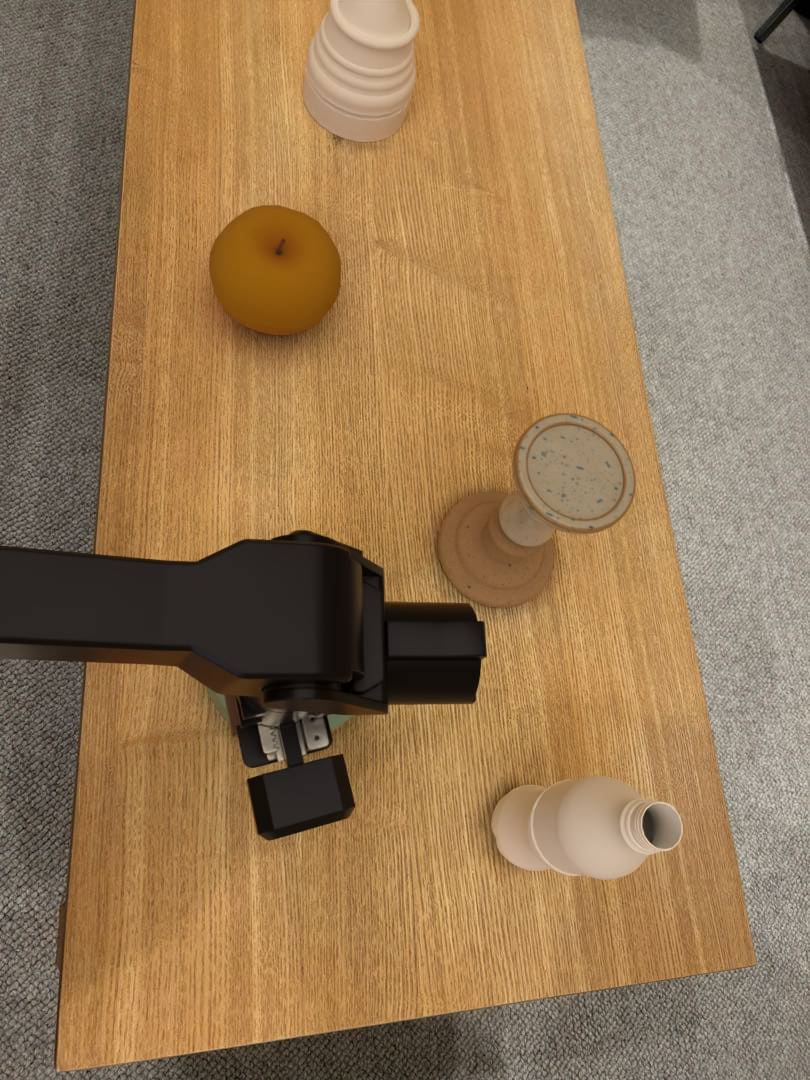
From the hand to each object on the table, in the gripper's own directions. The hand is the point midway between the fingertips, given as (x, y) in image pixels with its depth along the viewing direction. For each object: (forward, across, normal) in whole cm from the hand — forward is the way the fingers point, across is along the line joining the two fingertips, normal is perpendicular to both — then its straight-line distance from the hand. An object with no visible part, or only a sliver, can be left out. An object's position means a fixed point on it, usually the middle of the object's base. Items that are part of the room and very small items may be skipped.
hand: (268, 702), depth 61 cm
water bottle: (+12, -15, -21) cm, 29 cm away
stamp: (+3, 0, 0) cm, 3 cm away
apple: (+12, +42, -10) cm, 45 cm away
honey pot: (+12, +70, -26) cm, 76 cm away
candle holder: (+12, +11, -26) cm, 31 cm away
